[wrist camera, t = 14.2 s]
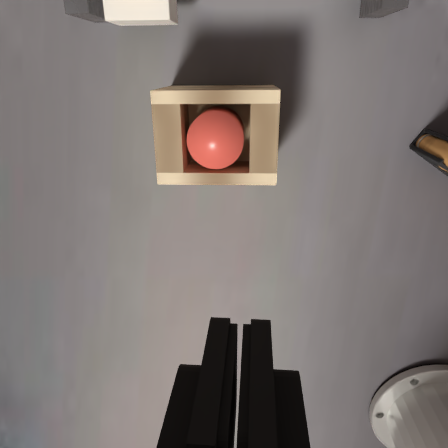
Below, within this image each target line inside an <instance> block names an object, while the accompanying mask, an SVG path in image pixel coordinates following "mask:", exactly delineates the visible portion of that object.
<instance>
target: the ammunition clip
mask: <svg viewBox="0 0 448 448" xmlns="http://www.w3.org/2000/svg"><path fill="white" fill-rule="evenodd" d="M409 147H410V149H412V150H413V151H414V152H416V153H417V154H418V155H420V156H421V157H422V158H424V159H425V160H426V161H428V162H429V163H430V164H432V165H433V166H434V167H436V168H437V169H438V170H440V171H441V172H443V173H444V174H445V175H447V176H448V136H445V135H442V134H439V133H437V132H434V131H431V130H428V129H424V130H423V131H422V132H421V133H420V135H419V136H418V137H417V138H416V139H415V140H414V142H413V143H412V144H411V145H410V146H409Z"/></svg>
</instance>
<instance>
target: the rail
mask: <svg viewBox="0 0 448 448" xmlns="http://www.w3.org/2000/svg"><path fill="white" fill-rule="evenodd" d="M408 3H409V0H361V8H360V17H359V18H381V17H384V16H386V15H389V14H392V13H394V12H397V11H400V10H402V9H405V8H408ZM64 7H65V13H66V14H68V15H71V16H75V17H78V18H82V19H85V20H88V21H92V22H107V21H105V16H104V7H103V0H64Z"/></svg>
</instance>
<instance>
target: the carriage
mask: <svg viewBox="0 0 448 448" xmlns="http://www.w3.org/2000/svg"><path fill="white" fill-rule="evenodd" d="M103 7H104V16H105V21H107V22H110V23H113V24H117V25H120V26H132V25H178V15H177V0H103Z"/></svg>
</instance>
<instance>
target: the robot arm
mask: <svg viewBox="0 0 448 448" xmlns="http://www.w3.org/2000/svg"><path fill="white" fill-rule="evenodd" d="M236 397H237V324H231V323H230V318H214V317H211V319H210V324H209V329H208V334H207V339H206V344H205V349H204V355H203V360H202V365H186V364H180V366H179V368H178V371H177V374H176V378H175V382H174V385H173V389H172V393H171V396H170V400H169V404H168V407H167V411H166V415H165V418H164V422H163V426H162V429H161V433H160V437H159V440H158V444H157V448H234V434H235V419H236ZM369 418H370V422H371V425H372V428H373V431H374V433H375V435H376V437H377V438H378V439H379V440H380V442H381V443H383V444H384V445H385V446H386V447H387V448H448V365H426V366H420V367H416V368H412V369H409V370H407V371H405V372H402V373H400V374H398V375H396V376H395V377H393V378H391V379H390V380H389V381H387V382H386V383H385V384H384V385H383V386H382V387H381V388H380V389H379V390H378V391H377V393H376V394H375V396H374V398H373V400H372V401H371V405H370V409H369ZM237 448H310V442H309V435H308V428H307V421H306V414H305V408H304V401H303V394H302V387H301V380H300V374H299V371H293V370H275V369H273V356H272V339H271V322H270V320H258V319H251V324H243V340H242V359H241V377H240V395H239V413H238V431H237Z"/></svg>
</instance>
